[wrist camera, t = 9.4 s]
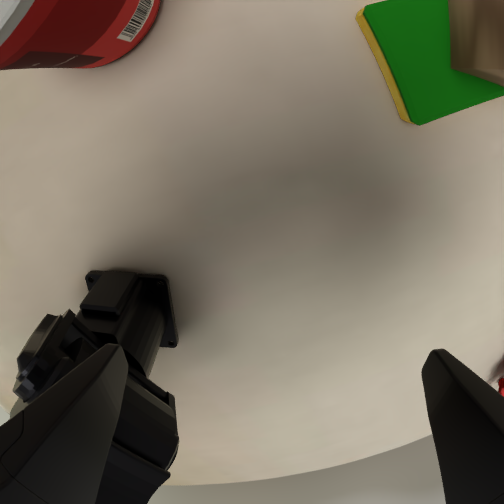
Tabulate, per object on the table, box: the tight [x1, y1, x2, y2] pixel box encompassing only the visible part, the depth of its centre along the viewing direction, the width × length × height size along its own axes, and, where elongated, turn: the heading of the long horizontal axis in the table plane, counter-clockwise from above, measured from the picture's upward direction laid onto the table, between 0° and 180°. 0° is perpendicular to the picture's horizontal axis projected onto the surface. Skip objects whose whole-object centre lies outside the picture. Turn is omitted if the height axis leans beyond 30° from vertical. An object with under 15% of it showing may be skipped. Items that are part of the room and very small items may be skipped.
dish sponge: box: [356, 0, 504, 126], centre depth 12 cm, size 7×14×2 cm, turn 117°
